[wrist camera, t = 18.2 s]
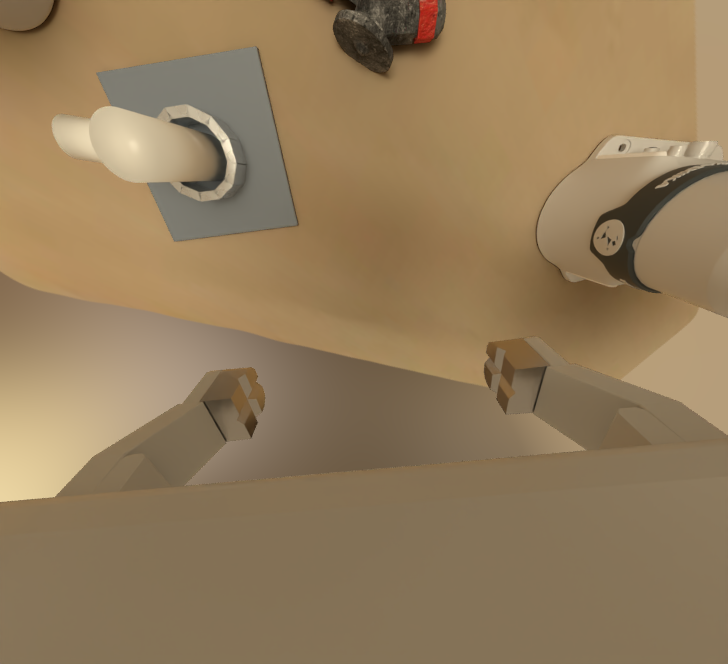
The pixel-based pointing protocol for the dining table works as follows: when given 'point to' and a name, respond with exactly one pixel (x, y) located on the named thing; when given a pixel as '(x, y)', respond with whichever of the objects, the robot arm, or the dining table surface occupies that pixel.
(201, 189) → the collar
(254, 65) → the slate plate
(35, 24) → the cylinder vase
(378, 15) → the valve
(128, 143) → the cream peg
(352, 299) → the dining table surface
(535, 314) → the dining table surface
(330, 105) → the dining table surface
